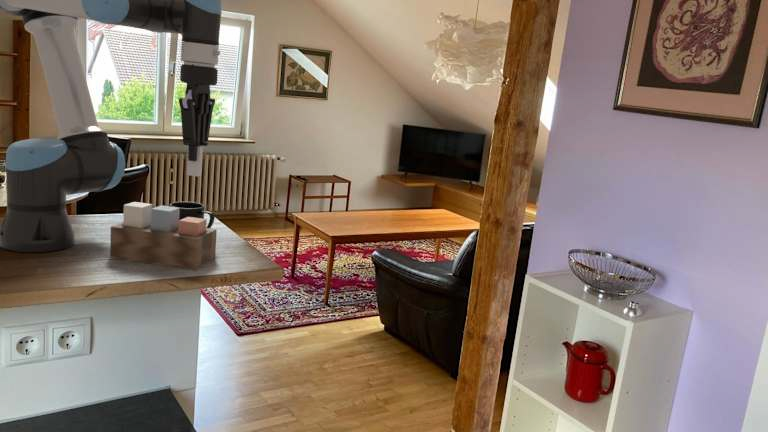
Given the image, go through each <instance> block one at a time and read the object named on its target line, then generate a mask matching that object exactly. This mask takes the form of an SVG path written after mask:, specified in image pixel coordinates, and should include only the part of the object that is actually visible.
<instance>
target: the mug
mask: <svg viewBox="0 0 768 432" xmlns="http://www.w3.org/2000/svg"><path fill="white" fill-rule="evenodd" d="M169 207H177V208H180V211H179V220H182V219H184V218H186V217H194V218H201V219H205V214H207V215H209V221H208V224H207V225H206V228H211V229H212V226H213V225H214V222H215V217H216V216H215V213H214V212H212V211H209V210H207V211H206V210H205V204H202V203H199V202H193V201H174V202H171V203H170V204H169Z"/></svg>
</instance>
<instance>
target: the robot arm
mask: <svg viewBox="0 0 768 432" xmlns="http://www.w3.org/2000/svg"><path fill="white" fill-rule="evenodd" d="M222 12H223V11H222V0H0V13H2V14H6V15H11V16H17V17H20V18H21V19H22V23H23V26H24V30H25V31H26V32H28V33H30V34H31V35H32V36H33V37H34V40H35V45H36V48H37V52H38V56H39V59H40V64H41V66H42V67H41V68H42V71H43V74H44V75H43V76H44V79H45V82H46V85H47V90H48V93H49V94H48V95H49V97H50V101H51V105H52V109H53V112H54V117H55V119H56V124H57V128H58V131H59V133H58V136H57V137H56V138H50V137H43V138H28V139H21V140H18V141H15V142H13V143H11V144H10V145H9V146H8V148H7V149H6V156H5V162H4V167H5V171H6V173H5V174H6V179H5V180H6V212H5V216H4V218H3V222H2V224H1V227H0V248H2V249H4V250H7V251H12V252H18V253H19V252H20V253H45V252H52V251H60V250H64V249H68V248H70V247H72V246H73V245H75V235H76V234H75V231H74V230H73V227H72V222H71V221H70V218H69V214H68V211H67V196H68V195H69V196H70V195H76V194H77V195H79V194H84V193H85V194H86V193H91V192H94V193H99V192H103V191H106V190H109V189H110V190H111V189H112V188H114V187H116V186H117V185H118V184H120V182H121V180H122V177H123V176H124V174H125V170H126V159H125V154H124V151H123V150H122V148H121V147H119V145H118V144H116V143H115V142H112V141H110V139H109V136H108V135H109V134H108V132H107V131H106V130H104V129H103V128H101V127H100V126H99V123H98V120H97V117H96V112H95V109H94V105H93V101H92V97H91V93H90V89H89V86H88V82H87V79H86V75H85V71H84V67H83V64H82V59H81V57H80V56H81V55H80V53H79V49H78V45H77V41H76V37H75V32H74V30H75V29H76V28H77V26H78V25H79V22H78V20H79V19H83V20H89V21H94V22H98V23H100V24H106V25H115V26H121V27H122V26H123V27H129V28H134V29H141V30H146V31H149V32H154V33H160V34H161V33H168V34H180V35H181V46H180V47H181V50H180V61H181V62H183V63H182V64H181V65H180V74H179V76H180V77H179V80H180V81H181V82H182V83H186V87H185V91H184V92H185V93H184V94H185V95H184V97H180V98H179V99H178V104H179V107H180V117H181V130H182V132H181V133H182V143H183V144H182V145H185V146H187V164H186V165H187V166H186V176H192V177H202V171H203V155H204V154H203V153H204V152H203V150H204V147H207V146H208V145H209V143H208V141H209V138H210V137H209V136H210V131H211V124H212V118H213V117H212V116H213V110H214V106H215V104H216V99H215V98H214V97H213V98H211V86H217V84H218V75H219V74H218V71H219V69H218V68H217V67H216V66H217V65H219V56H220V55H221V51H220V49H219V48H220V46H219V45H220V32H221V31H220V30H221V21H222V20H221V19H222Z"/></svg>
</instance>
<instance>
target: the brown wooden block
mask: <svg viewBox="0 0 768 432" xmlns="http://www.w3.org/2000/svg"><path fill="white" fill-rule="evenodd" d="M216 247H217V228H212V227H211V228H206V233H204V234H202V235H200V236H195V235H188V234H181V233H179V228H178V229H176V230H174V231H172V232H167V231H159V230H152V229H151V225H149V226H147V227H144V228H138V227H131V226H124V225H123V221H122V222H120V223H118V224H115V225H111V226H110V248H109V249H110V251H109V252H110V253H109V254H110V258H111V259H117V260H123V261H124V260H125V261H132V262H139V263H144V264H149V265H150V264H151V265H158V266H165V267H169V268H171V267H172V268H179V269H185V270H191V271H197V270H199V269H201V268H203V267H204V266H206V265H207V264H210V263H211V262H212V261H214V260H215V259H216V250H217V249H216Z"/></svg>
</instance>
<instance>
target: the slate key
mask: <svg viewBox="0 0 768 432" xmlns="http://www.w3.org/2000/svg"><path fill="white" fill-rule="evenodd" d="M179 211H180V208H177V207H169V206H168V205H158V206H156V207H152V209H151V229H152V230H159V231H167V232H172V231H174V230H176V229H178V228H179Z"/></svg>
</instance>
